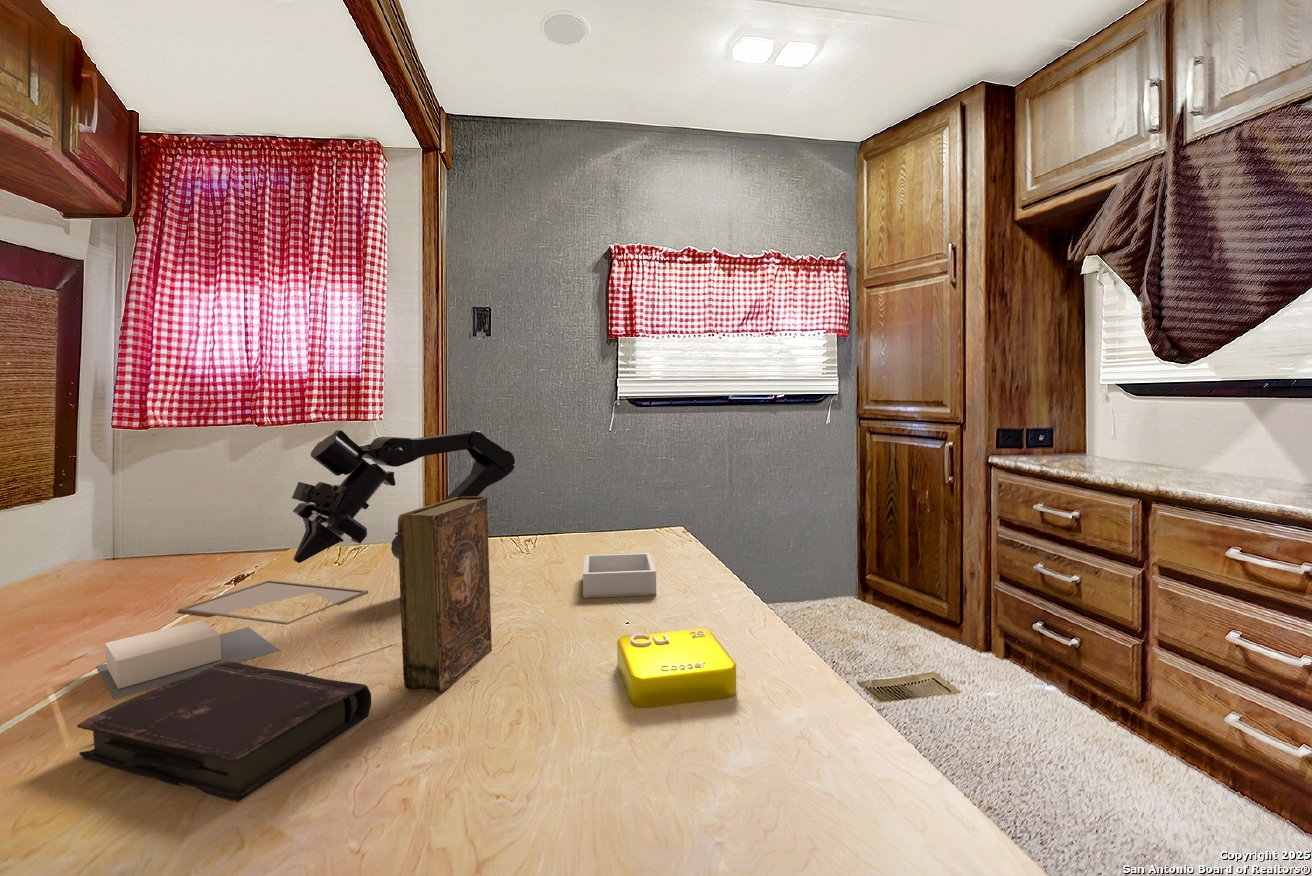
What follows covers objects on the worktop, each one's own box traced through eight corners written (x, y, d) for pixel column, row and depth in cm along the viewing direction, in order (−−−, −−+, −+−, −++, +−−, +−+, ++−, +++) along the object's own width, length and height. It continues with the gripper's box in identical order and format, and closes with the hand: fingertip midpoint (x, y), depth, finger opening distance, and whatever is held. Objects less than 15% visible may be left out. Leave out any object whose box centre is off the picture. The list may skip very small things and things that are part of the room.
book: (465, 644, 98) (459, 495, 96) (495, 647, 97) (490, 496, 95) (404, 693, 82) (396, 515, 80) (439, 696, 81) (432, 516, 79)
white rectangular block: (202, 620, 98) (105, 643, 89) (219, 634, 92) (116, 661, 83) (204, 644, 98) (107, 669, 89) (221, 660, 92) (118, 690, 83)
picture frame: (178, 614, 115) (287, 629, 107) (178, 609, 115) (287, 623, 107) (268, 584, 134) (368, 595, 125) (268, 580, 134) (368, 590, 125)
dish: (650, 574, 136) (650, 552, 136) (656, 595, 121) (656, 571, 121) (585, 576, 135) (585, 555, 135) (583, 598, 120) (582, 574, 120)
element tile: (631, 712, 76) (630, 676, 76) (615, 662, 91) (615, 632, 91) (740, 699, 79) (740, 664, 79) (708, 653, 94) (708, 623, 94)
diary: (233, 689, 84) (231, 655, 84) (372, 716, 77) (371, 679, 76) (70, 767, 67) (67, 724, 66) (229, 812, 59) (226, 764, 59)
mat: (248, 629, 106) (248, 627, 106) (280, 652, 96) (279, 650, 96) (96, 668, 91) (96, 666, 91) (114, 702, 80) (114, 699, 80)
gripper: (301, 460, 113) (238, 528, 105) (344, 469, 101) (277, 546, 94) (346, 494, 120) (290, 560, 112) (392, 506, 108) (332, 581, 100)
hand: (296, 561), depth 104 cm, fingers closed
